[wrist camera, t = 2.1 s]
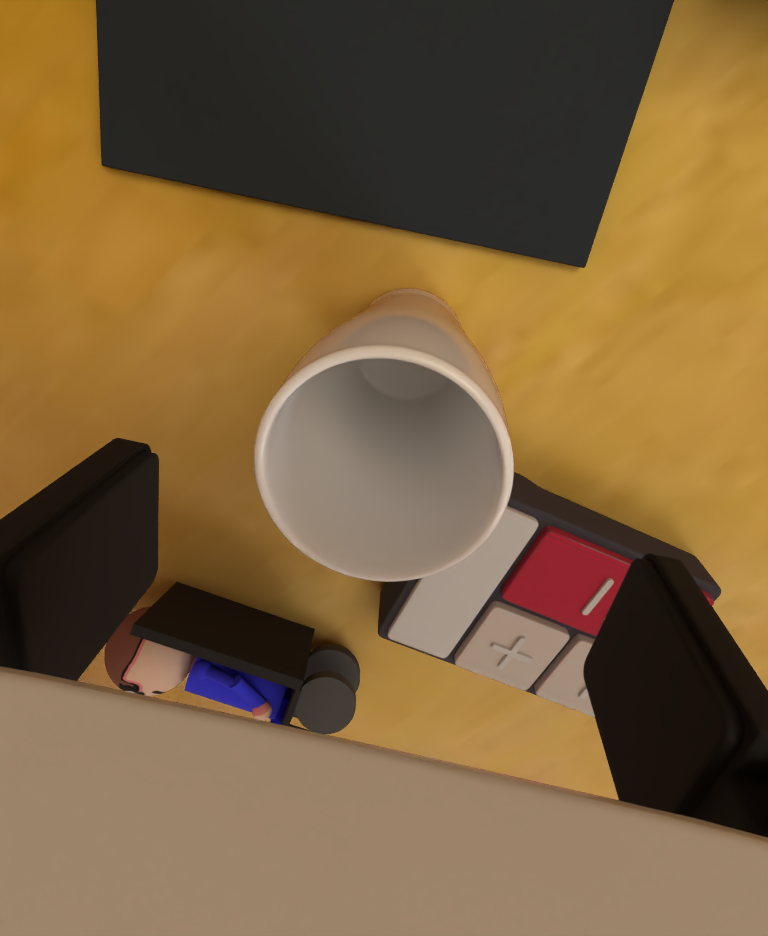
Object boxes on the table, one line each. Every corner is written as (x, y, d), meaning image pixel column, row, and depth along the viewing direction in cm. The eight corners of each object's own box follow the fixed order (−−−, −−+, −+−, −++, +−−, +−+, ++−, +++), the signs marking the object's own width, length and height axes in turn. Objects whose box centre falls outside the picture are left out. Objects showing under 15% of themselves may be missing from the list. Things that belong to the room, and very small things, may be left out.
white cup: (501, 300, 26) (569, 405, 13) (446, 425, 29) (453, 618, 16) (366, 248, 26) (288, 298, 12) (324, 380, 29) (222, 538, 15)
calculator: (606, 732, 33) (373, 646, 30) (586, 674, 36) (377, 594, 34) (734, 600, 28) (470, 487, 26) (695, 550, 32) (462, 448, 29)
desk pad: (108, 166, 25) (101, 165, 25) (95, -291, 19) (84, -306, 18) (581, 266, 25) (585, 268, 25) (721, -156, 19) (729, -166, 19)
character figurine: (347, 689, 39) (139, 614, 37) (384, 621, 35) (156, 535, 34) (322, 803, 32) (68, 716, 31) (365, 734, 28) (79, 631, 27)
